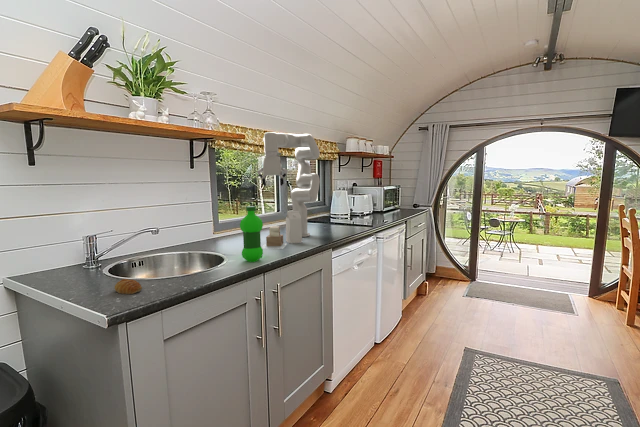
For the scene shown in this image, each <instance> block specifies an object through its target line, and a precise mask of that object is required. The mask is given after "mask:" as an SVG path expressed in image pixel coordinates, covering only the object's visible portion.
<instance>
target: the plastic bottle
mask: <svg viewBox="0 0 640 427" xmlns="http://www.w3.org/2000/svg"><path fill="white" fill-rule="evenodd" d="M256 209H257V208H256V206H255V205H254V206H252V205H251V206H245V210H246V211H247V214H246V215H245V216H244V217H243V218H242V219H241V220H240V223H239V228H240V230H241V232H242V238H243V248H242V250H241V256H242V258H243V259H244V260H245V261H247V262H250V263H254V262H258V261H259V260H260V259H262V257H263V255H264V249H262V243H261V241H262V240H261V231H262V230H263V227H264V226H263V225H264V224H263V220H262V219H261V218H260V217H259V216H258V215H257V214H255V211H256Z"/></svg>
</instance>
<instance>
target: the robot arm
mask: <svg viewBox="0 0 640 427" xmlns="http://www.w3.org/2000/svg"><path fill="white" fill-rule="evenodd" d="M263 144H264V146H263V147H264V157H263V163H262V168H261V169H259V170H257V171H256V172H257V174H258V176H259V177H260V178H261V180H262V185H263V187H266V186H267V181H266V177H267V176H279V177H280V179H279V180H280V186H281V187H282V186H283V185H284V184H285V183H284V178H285V177H286V176H287V174H288V171H289V170H288V169H286V168H283V167H282V166H283V165H282V161H281V157H280V156H281V155H282V152H279V148H284V149H287V148H289V149H292V148H293V149H294V150H295V151H294V156H295V159H296V162H297V165H298V169H297V174H296V180H295V184H296V186H297V187H295V188H293V189H292V190H291V192H290V198H291V199H290V200H291V203H292V204H291V206H292V211H299V214H300V216H301V225H302V238H305V237H309V236H311V234H310V233H309V232H308V231H309V230H308V208H307V206H306V205H305V203H309V204H311V203H315V202H316V201H317V198H318V194H319V190H320V184H321V182H320V180H321V179H320V176H319V174H318V173H315V172H312V166H311V165H310V163H309V162H308V161H307V160H318V159H319V158H320V155H321V152H320V149H319V146H318V145H317V142H316V140H315V138H314V137H313V136H312V134H310V133H303V134H301V133H299V134H298V133H297V134H296V133H283V132H274V131H273V132H271V131H269V132H264V134H263ZM262 173H263V174H262Z"/></svg>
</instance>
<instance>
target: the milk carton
mask: <svg viewBox="0 0 640 427" xmlns="http://www.w3.org/2000/svg"><path fill="white" fill-rule="evenodd" d="M286 212H287V213H286V217H285V241H286V242H287V243H288V244H298V243H303V237H302V225H301V216H300V214H299V211H293V210H291V211H286ZM286 242H285V243H286Z"/></svg>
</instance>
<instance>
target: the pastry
mask: <svg viewBox="0 0 640 427" xmlns="http://www.w3.org/2000/svg"><path fill="white" fill-rule="evenodd" d="M114 290H115V292H116V293H118V294H122V295H123V294H124V295H133V294H137V293H139V292H141V291H142V290H143V287H142V284H140V282H138V281H137V280H135V279H127V278H123V279H121V280H119V281H117V282H116V283H115V285H114Z"/></svg>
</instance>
